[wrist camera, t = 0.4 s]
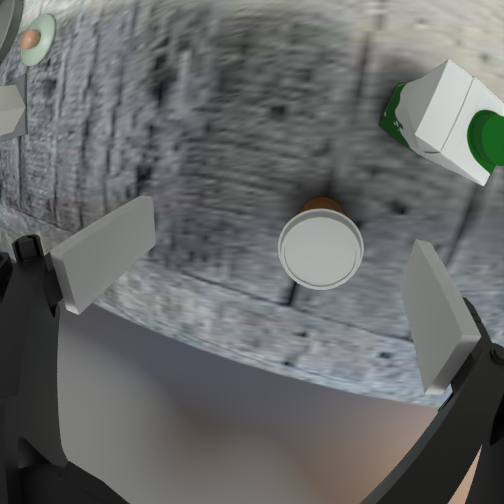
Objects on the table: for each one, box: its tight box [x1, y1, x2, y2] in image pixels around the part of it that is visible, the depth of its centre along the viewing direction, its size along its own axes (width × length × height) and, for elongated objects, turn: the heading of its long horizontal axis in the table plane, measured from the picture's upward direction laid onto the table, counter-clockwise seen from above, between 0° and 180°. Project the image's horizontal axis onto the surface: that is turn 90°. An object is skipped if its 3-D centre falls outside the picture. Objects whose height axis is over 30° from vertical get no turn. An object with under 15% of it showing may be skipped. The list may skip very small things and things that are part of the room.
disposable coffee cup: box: [278, 197, 364, 290], centre depth 36 cm, size 10×10×12 cm
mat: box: [2, 74, 28, 141], centre depth 44 cm, size 14×12×1 cm
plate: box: [21, 14, 56, 66], centre depth 36 cm, size 12×12×1 cm
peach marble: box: [20, 30, 41, 49], centre depth 34 cm, size 4×4×3 cm
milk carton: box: [379, 59, 504, 186], centre depth 24 cm, size 9×9×20 cm
